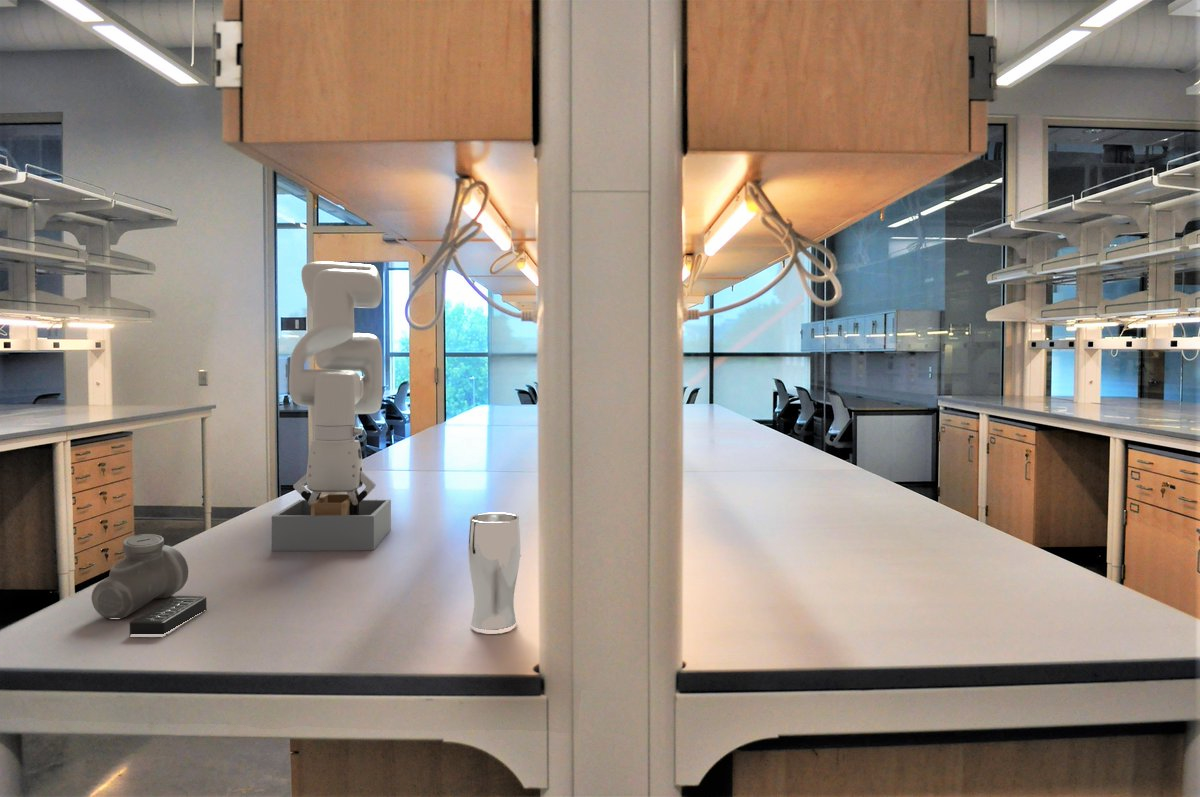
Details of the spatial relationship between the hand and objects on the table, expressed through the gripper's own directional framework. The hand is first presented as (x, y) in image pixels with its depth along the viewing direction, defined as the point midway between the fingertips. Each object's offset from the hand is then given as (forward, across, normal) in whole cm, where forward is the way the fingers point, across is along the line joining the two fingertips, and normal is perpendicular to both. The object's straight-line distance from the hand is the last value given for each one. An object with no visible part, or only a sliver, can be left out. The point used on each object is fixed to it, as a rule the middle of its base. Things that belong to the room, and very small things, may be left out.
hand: (334, 523), depth 147 cm
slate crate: (+3, 0, 0) cm, 3 cm away
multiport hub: (+4, +10, +46) cm, 48 cm away
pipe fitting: (+4, +17, +40) cm, 44 cm away
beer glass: (+4, -34, +50) cm, 61 cm away
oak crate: (+1, 0, 0) cm, 1 cm away
